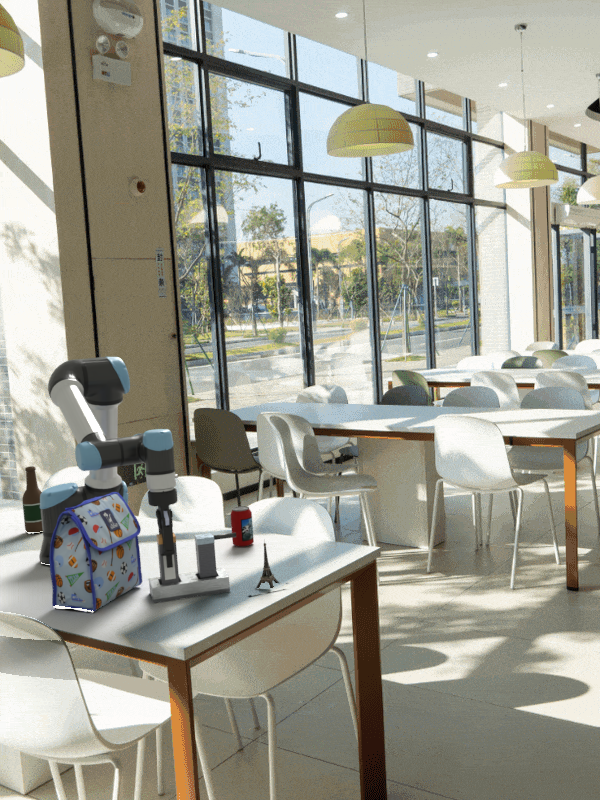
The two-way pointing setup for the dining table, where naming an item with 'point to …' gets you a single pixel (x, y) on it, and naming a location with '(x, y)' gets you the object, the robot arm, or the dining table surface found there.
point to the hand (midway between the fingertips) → (169, 576)
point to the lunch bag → (95, 553)
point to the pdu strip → (195, 575)
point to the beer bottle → (32, 502)
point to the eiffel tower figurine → (266, 572)
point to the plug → (161, 561)
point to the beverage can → (242, 526)
